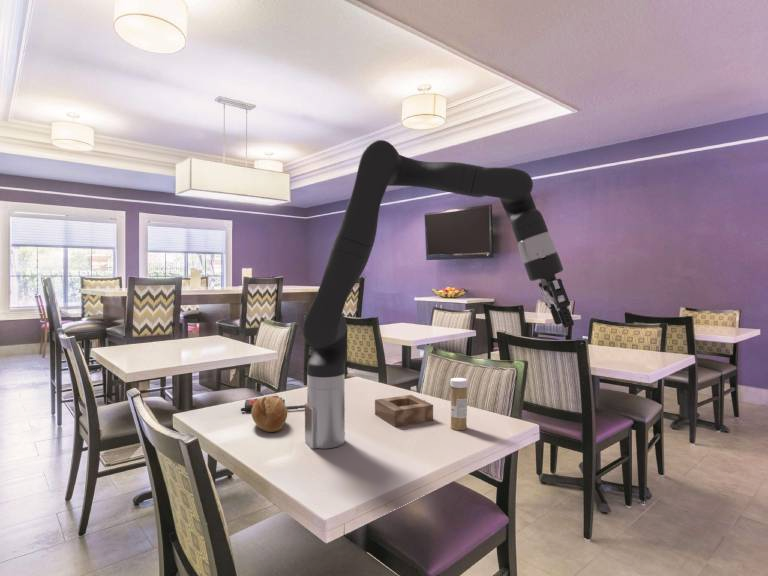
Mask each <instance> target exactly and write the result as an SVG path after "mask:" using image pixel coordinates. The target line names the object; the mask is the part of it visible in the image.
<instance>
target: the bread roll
mask: <svg viewBox="0 0 768 576" xmlns="http://www.w3.org/2000/svg"><path fill="white" fill-rule="evenodd" d="M262 397H263V396H262ZM262 397H261V398H259V399H258V398H257V399H258V400H257V401H256V402H255V403H254V405H253V407H252V411H251V413H250V414H251V417H252V420H253V422H254V423H255V424H256V426H257V427H258V428H259V429H260V430H262V431H265V432H270V433H272V432H277V431H280V430H281V429H282V428H283V427H284V424H285V423H286V420H287V419H288V410H287V408H286V406H287V405H286V403H285V404H284V402H283V401H282V400H283V399H282V400H281V399H280V397H279V398H276V397H263V398H262Z"/></svg>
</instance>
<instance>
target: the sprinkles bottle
mask: <svg viewBox="0 0 768 576" xmlns="http://www.w3.org/2000/svg"><path fill="white" fill-rule="evenodd" d="M450 387H451V388H450V428H451V429H452V430H456V431H463V430H466V429H467V428H468V426H467V421H468V420H467V419H468V418H467V417H468V396H467V395H468V394H467V388H468V379H467V378H464V377H452V378H450Z"/></svg>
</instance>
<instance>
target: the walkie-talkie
mask: <svg viewBox="0 0 768 576" xmlns="http://www.w3.org/2000/svg"><path fill="white" fill-rule="evenodd" d="M263 397H266V398H268V397H276V398H280V399H281V400H282V401H283V402H284V404H285V406H286V408H287V411H288V410H289V411H290V410H299V409H305V404H303V405H300V404H299V405H290V406H289V405H288V406H287V405H286V402H285V399H283V398H282V397H280V395H278V394H264V395H263V396H261V398H263ZM258 399H259V398H258V396H255V397H254V399H253V398H252V399H251V398H250V399H245V401H244V407H241V408H240V412H244V413H245V412H251V411H252V407H253V405H254V403H255V402H256V401H257V400H258Z"/></svg>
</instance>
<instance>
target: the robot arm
mask: <svg viewBox="0 0 768 576" xmlns="http://www.w3.org/2000/svg"><path fill="white" fill-rule="evenodd" d="M354 180H355V181H354V185H353V189H352V191H351V195H350V198H349V200H348V203H347V205H346V208H345V211H344V213H343V216H342V219H341V222H340V224H339V227H338V230H337V232H336V235H335V238H334V241H333V242H332V243H333V244H332V247H331V249H330V253H329V257H328V260H327V263H326V265H325V268H324V271H323V275H322V278H321V282H320V285H319V287H318V290H317V293H316V295H315V296H314V299H313V301H312V303H311V306H310V307H309V309H308V312H307V313H306V316H305V318H304V321H303V324H302V325H303V326H302V334H303V338H304V340H305V342H306V343H307V345H308V346H310V347H312V349H311V355H310V358H309V360H308V362H307V365H306V366H307V367H306V377H307V378H306V379H307V381H306V384H307V386H306V387H307V389H306V390H307V401H306V403H305V404H304V405H305V408H304V442H305V443H306V444H307V445H308V446H309V447H310V448H311V449H333V448H338V447H340V446H342V445H344V443H345V441H346V431H345V429H346V428H345V423H346V422H345V421H346V420H345V417H346V416H345V413H346V408H345V407H346V405H345V401H346V400H345V397H346V396H345V395H346V393H345V389H346V388H345V383H346V382H345V378H346V377H345V376H346V375H345V369H346V363H347V359H348V356H347V355H348V323H347V320H346V318H345V316H344V314H343V311H344V309H345V306H346V302H347V300H348V297H349V295H350V293H351V292H352V290H353V288H354V287H355V285H356V284H357V282H358V281H359V279H360V277H361V276H362V274H363V272H364V270H365V268H366V266H367V264H368V263H369V258H370V256H371V253H372V250H373V247H374V244H375V240H376V236H377V229H378V222H379V213H380V207H381V204H382V201H383V197H384V195H385V192H386V190H387V189H388V188H387V187H391V186H392V187H393V186H394V187H398V186H399V187H416V188H425V189H431V190H436V191H440V192H446V193H452V194H456V195H462V196H468V197H472V198H482V197H492V198H497V199H498V198H499V200H500V203H501V205H502V207H503V209H504V212H505V214H506V216H507V219H508V220H509V222H510V225H511V228H512V231H513V234H514V237H515V240H516V243H517V245H518V250H519V254H520V258H521V260H522V263H523V266H524V268H525V271H526V273H527V276H528V279H529V281H531V282H534V281H538V280H540V282H539V283H538V287H539V288H540V289H539V290H540V292H541V296H542V298H543V301H544V303H545V305H544V306H546V308H547V309H548V310H549V311H550V314H551V316H552V319H553V322H554V324H555V325H556V326H557V325H560V324H561V325H562V327H563V328H565V329H566V328H570V327H574V325H575V322H574V320H573V316H572V314H571V311H570V309H569V308H570V306H571V302H570V300H569V297H568V295H567V292H566V289H565V287H564V284H563V281H562V280H563V279H561V278H557V277H556V275H557V274H559V273H561V272H564V267H563V265H562V261H561V258H560V256H559V253H558V250H557V247H556V245H555V242H554V240H553V238H552V236H551V235H550V232H549V230H548V227H547V224H546V221H545V219H544V217H543V214H542V213H541V211H540V210H539V209H537V207H536V203H535V202H534V198H533V196H532V191H533V187H534V182H533V179H532V177H531V175H530V174H529V173H528V172H526V171H524V170H522V169H518V168H512V167H486V166H481V165H476V164H470V163H469V164H468V163H465V162H456V161H432V162H431V161H422V160H417V159H413V158H411V157H410V158H409V157H407V156H403V155H401V154H400V153H399V152H398V150H397V149H396V148H395V146H394V145H393V144H392V143H390V142H389V141H387V140H385V139H384V140H383V139H379V140H374V141H372V142H371V143H369V144H368V145H367V146H366V147H365V148H364V150H363V151H362V153H361V155H360V158H359V163H358V167H357V172H356V177H355V179H354Z"/></svg>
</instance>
